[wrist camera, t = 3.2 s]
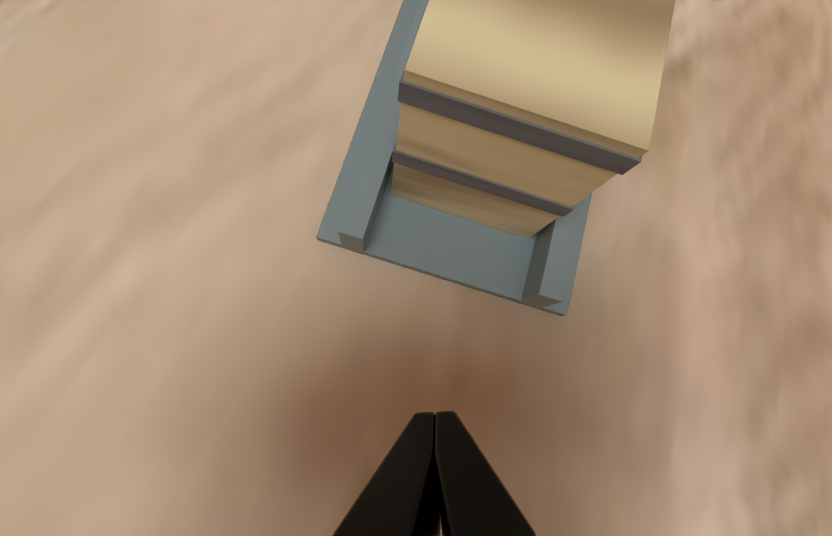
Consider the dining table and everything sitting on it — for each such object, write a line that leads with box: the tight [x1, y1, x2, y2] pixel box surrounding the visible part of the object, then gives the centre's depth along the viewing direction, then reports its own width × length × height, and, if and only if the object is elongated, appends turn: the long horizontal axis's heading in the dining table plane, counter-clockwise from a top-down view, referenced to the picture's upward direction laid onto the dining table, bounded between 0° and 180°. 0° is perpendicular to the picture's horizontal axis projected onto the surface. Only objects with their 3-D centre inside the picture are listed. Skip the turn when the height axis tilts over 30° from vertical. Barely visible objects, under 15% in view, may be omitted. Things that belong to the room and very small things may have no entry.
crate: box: [391, 0, 675, 238], centre depth 18 cm, size 7×8×10 cm
